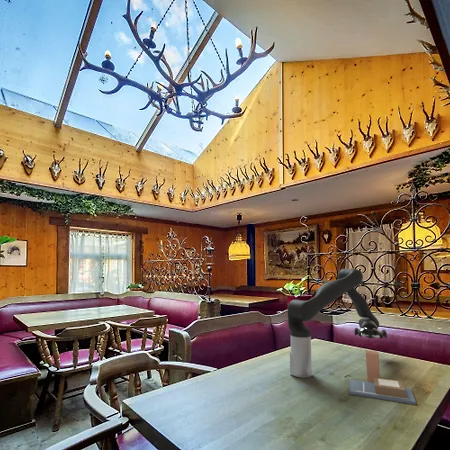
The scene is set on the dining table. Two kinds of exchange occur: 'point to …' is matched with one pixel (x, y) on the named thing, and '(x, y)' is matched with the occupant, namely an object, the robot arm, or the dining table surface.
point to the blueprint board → (371, 390)
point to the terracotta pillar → (372, 365)
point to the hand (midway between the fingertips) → (370, 335)
